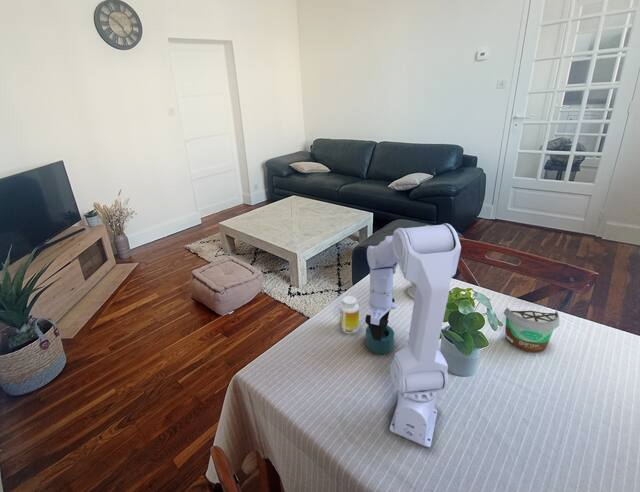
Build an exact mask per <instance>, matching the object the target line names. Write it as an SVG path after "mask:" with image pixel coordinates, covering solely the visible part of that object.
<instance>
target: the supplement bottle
mask: <svg viewBox="0 0 640 492" xmlns="http://www.w3.org/2000/svg"><path fill="white" fill-rule="evenodd" d="M339 322H340V324H339V325H340V326H339V328H340V329H341V331H342V332H343V333H346V334H355V333H357V332H358V331H359V330H360V306H359V303H357V298H356V297H354V296H353V295H346V296H343V297H342V302H341V303H340V305H339Z"/></svg>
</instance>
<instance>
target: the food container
mask: <svg viewBox="0 0 640 492" xmlns="http://www.w3.org/2000/svg"><path fill="white" fill-rule="evenodd" d="M503 315H504V316H505V329H504V330H505V332H504V333H505V334H504V339H505V340H506V341H507V342H508V343H509V344H510V345H512V347H515V348H516V349H518V350H521V351H524V352H528V353H535V354H536V353H542V352H544V351H545V350H546V349H547V347H548V344H549V342H550V340H551V337H552V334H553V332H554V330H556V329H557V328H559V326H560V323H561V322H560V321H561V320H560V314H559V312H558V310H555V312H541V311H536V310H510V308H509V307H506V308H505V309H504V311H503Z"/></svg>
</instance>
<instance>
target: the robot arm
mask: <svg viewBox="0 0 640 492" xmlns="http://www.w3.org/2000/svg"><path fill="white" fill-rule="evenodd" d="M461 250H462V245H461V242H460V239H459V235H458V233H457V231H456V229H455V228H454V227H453V225H451V224H450V223H442V224H436V225H429V226H426V225H424V226H413V227H407V228H406V227H404V228H403V227H398V228H396V229H394V230H393V234H392V235H386V236H385V237H384V239H383V240H382V241H379V244H378V245H368V247H367V249H366V260H367V264H368V267H369V299H368V306H369V311H370V314H366V316H365V318H364V320H365V324H367V327H368V326H369V328H370V331H371V335H372V338H373V340H377V341H381V339H382V336H383V331H384V329H385V328H386V326H388V324H389V317H390V316H389V315H390V312H391V310H396V309H397V306H398V303H397V302H396V300H395V299H394V297H393V293H394V292H393V291H394V289H393V288H394V274H396V273H397V272H396V270H397V267H398V266H399V269H400V271H401V273H402V274H403V275H402V276H403V278H404V279H405V280H406V281H408V282H410V283H411V282H413V283H415V284H416V292H415V299H414V298H413V305H412V306H413V308H412V313H411V320H410V326H409V332H408V339H407V345H406V346H404V347H402V348H401V349H400V350H398V351H396V352H395V353H394V356H393V359H392V360H391V362H390V364H389V372H390V377H391V380H392V384H393V386H394V388H395V390H396V391H397V404H396V407H395V409H394V413H393V416H392V419H391V422H390V425H389V431H390V432H392V433H393V434H395V435H398V436H401V437H403V438H405V439H408V440H409V441H412V442H414V443H416V444H419V445H421V446H424V447H425V448H431V446H432V442H433V436H434V431H435V427H436V420H437V415H438V410H437V409H436V406H435V405H436V398H437V395H440V394H441V390H445V389H446V388H447V386H448V383H449V374H448V369H449V365H448V363H447V360H446V358H445V357H444V355H443V353H442V351H440V350H439V348H438V347H439V342H440V337H441V332H442V328H443V323H444V319H445V314H446V310H447V304H448V300H449V299H448V298H449V295H450V290H451V280H452V278H453V277H454V276H455V275H456V273H457V269H458V266H459V265H458V264H459V260H460V255H461ZM413 283H412V284H413Z"/></svg>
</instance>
